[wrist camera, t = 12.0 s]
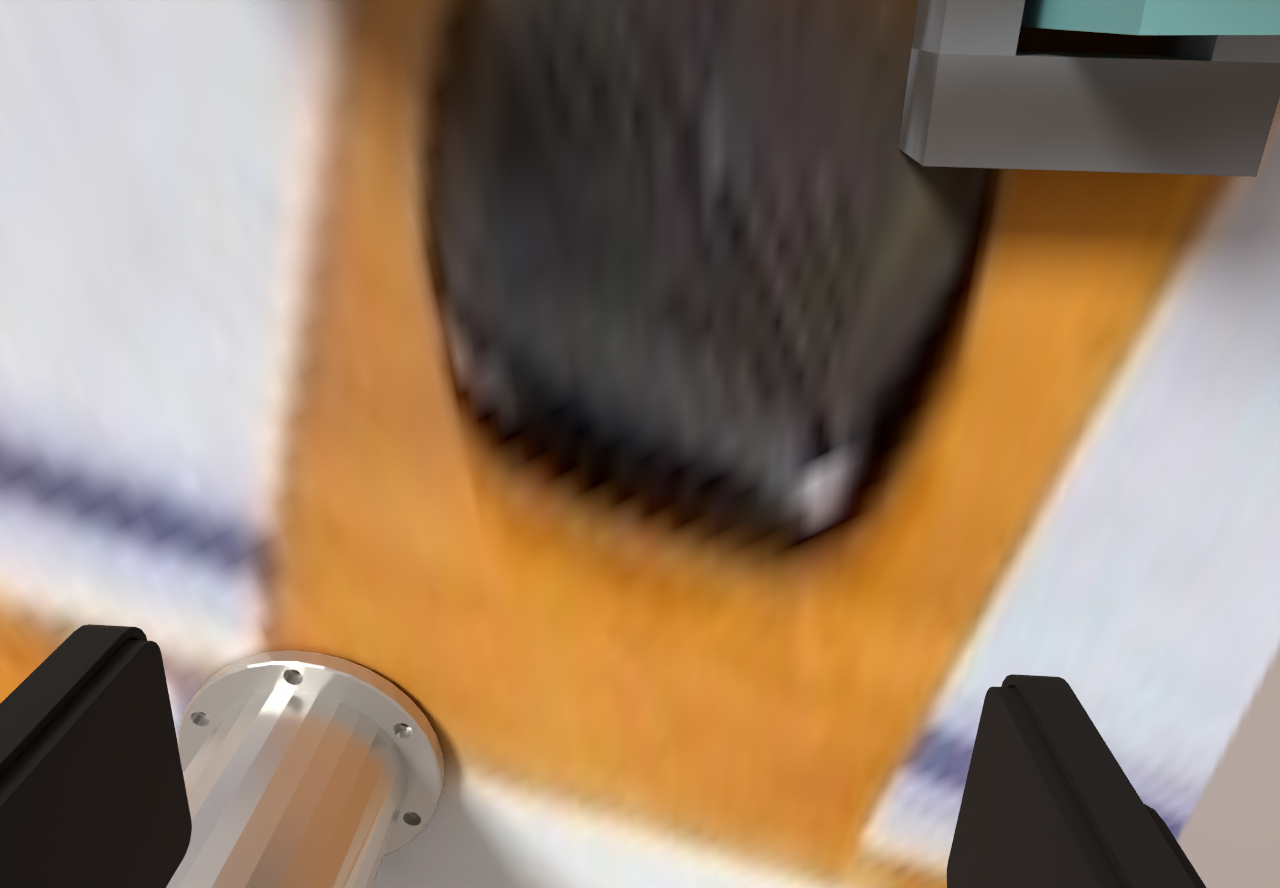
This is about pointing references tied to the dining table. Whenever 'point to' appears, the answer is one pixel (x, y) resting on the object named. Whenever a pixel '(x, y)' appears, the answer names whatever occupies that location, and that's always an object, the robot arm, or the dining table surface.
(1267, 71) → the socket stand
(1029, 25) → the peg
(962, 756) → the dining table surface
